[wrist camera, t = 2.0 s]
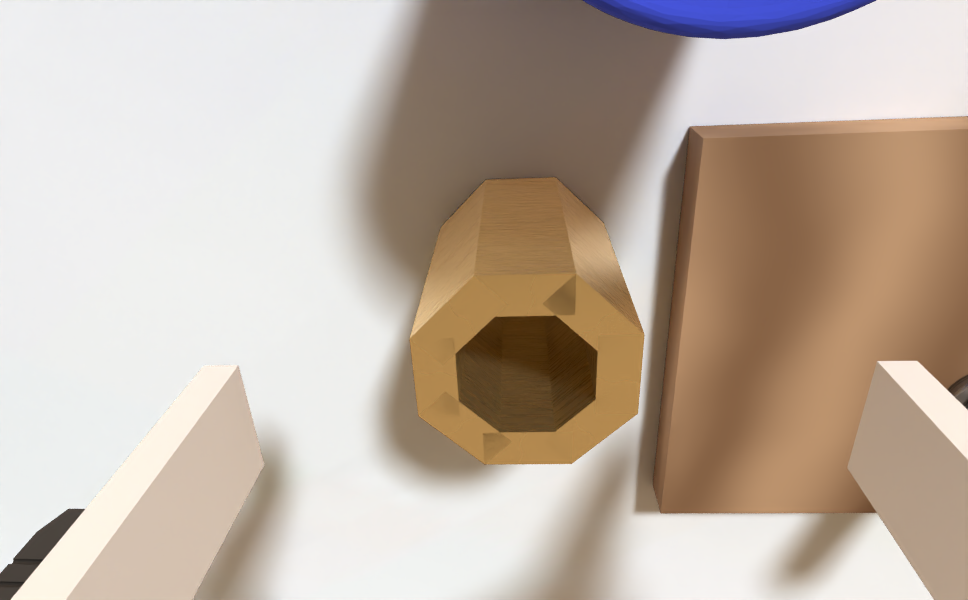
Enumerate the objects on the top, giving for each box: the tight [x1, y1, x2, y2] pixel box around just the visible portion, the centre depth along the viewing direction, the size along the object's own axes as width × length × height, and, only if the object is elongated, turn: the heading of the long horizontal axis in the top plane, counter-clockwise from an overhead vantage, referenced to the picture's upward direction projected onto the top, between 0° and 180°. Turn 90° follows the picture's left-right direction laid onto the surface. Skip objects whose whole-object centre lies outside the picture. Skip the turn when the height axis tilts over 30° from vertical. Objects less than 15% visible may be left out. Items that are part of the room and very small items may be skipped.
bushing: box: [410, 177, 644, 464], centre depth 18 cm, size 5×5×7 cm
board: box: [653, 116, 968, 513], centre depth 21 cm, size 16×14×2 cm
